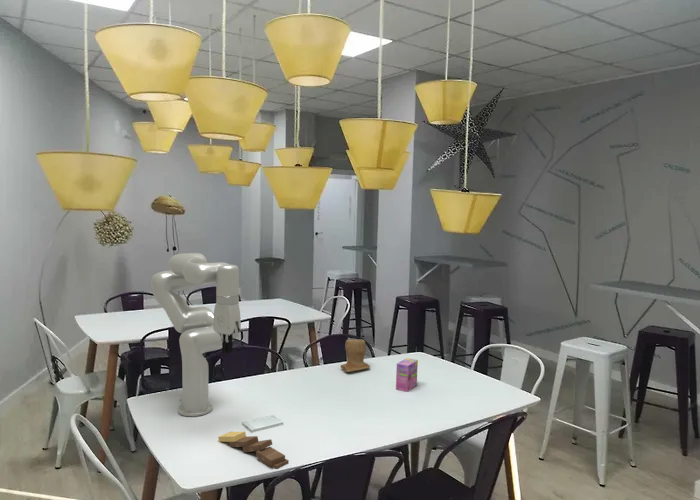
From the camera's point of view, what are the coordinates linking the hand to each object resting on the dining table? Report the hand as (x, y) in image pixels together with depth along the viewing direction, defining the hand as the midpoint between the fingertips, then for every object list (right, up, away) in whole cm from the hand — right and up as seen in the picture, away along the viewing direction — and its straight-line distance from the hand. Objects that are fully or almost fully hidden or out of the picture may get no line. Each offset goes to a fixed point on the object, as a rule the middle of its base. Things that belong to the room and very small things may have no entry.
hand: (227, 352), depth 178 cm
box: (+68, -26, +48) cm, 87 cm away
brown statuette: (+45, -23, +73) cm, 89 cm away
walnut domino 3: (+16, -27, -19) cm, 37 cm away
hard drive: (+11, -28, +5) cm, 31 cm away
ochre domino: (+1, -27, -7) cm, 28 cm away
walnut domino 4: (+16, -29, -20) cm, 38 cm away
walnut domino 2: (+10, -28, -14) cm, 33 cm away
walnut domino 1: (+5, -27, -11) cm, 30 cm away
